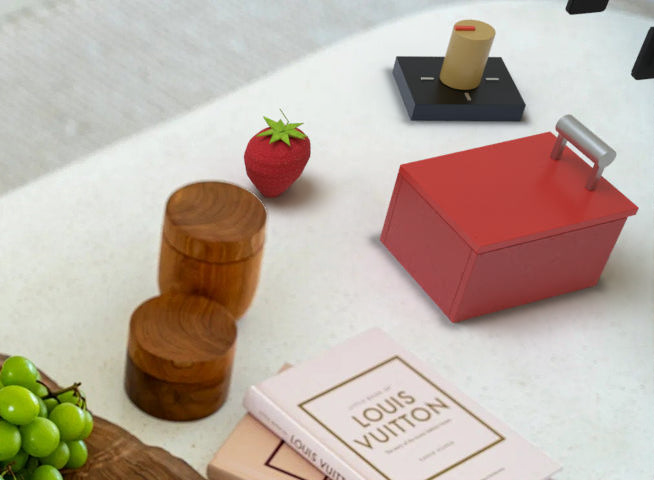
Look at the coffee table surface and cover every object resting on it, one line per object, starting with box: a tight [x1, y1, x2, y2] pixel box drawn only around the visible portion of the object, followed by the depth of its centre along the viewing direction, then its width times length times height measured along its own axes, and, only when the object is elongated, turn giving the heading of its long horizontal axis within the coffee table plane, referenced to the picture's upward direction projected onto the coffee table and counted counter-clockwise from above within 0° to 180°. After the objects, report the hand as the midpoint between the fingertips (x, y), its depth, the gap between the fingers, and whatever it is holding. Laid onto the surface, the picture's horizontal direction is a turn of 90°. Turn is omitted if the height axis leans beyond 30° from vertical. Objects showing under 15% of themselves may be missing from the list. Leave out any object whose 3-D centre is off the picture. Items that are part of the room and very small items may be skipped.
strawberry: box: [243, 108, 312, 199], centre depth 113 cm, size 6×8×10 cm
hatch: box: [397, 113, 640, 254], centre depth 101 cm, size 16×13×5 cm
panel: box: [391, 55, 527, 122], centre depth 128 cm, size 12×10×3 cm
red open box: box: [379, 172, 629, 324], centre depth 106 cm, size 16×13×9 cm
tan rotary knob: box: [440, 19, 497, 90], centre depth 125 cm, size 4×4×6 cm
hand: (616, 43), depth 88 cm, fingers open, 9 cm apart
